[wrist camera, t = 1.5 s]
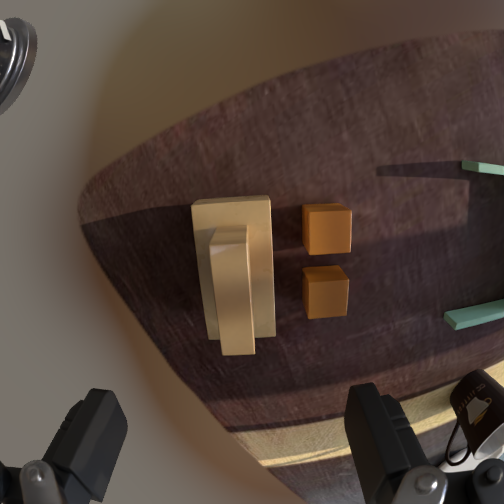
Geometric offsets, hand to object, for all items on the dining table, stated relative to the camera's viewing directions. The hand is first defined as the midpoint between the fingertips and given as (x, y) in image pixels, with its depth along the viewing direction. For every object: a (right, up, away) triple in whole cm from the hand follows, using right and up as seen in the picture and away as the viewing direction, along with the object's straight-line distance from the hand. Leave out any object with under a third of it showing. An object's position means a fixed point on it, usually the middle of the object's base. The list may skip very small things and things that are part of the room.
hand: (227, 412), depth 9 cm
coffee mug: (+29, -14, +21) cm, 38 cm away
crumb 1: (+6, +7, +14) cm, 17 cm away
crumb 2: (+6, +3, +15) cm, 17 cm away
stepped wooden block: (0, +5, +15) cm, 16 cm away
